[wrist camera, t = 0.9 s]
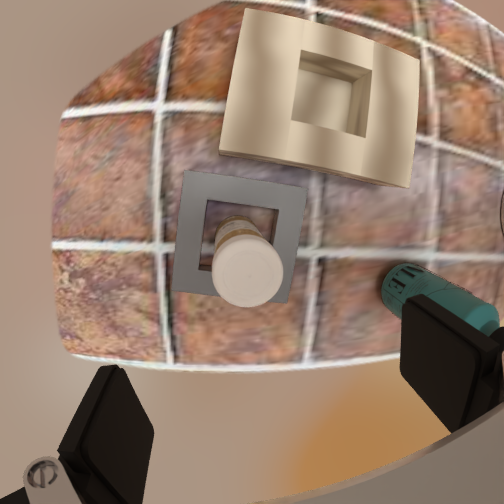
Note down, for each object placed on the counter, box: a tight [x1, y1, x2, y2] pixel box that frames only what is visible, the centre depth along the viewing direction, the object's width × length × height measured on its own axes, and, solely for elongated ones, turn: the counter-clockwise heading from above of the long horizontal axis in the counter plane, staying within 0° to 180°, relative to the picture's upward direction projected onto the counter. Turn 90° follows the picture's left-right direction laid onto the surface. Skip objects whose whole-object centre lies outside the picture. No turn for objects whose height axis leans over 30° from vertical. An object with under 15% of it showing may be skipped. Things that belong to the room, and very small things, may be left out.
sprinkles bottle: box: [212, 216, 283, 307], centre depth 26 cm, size 5×5×13 cm
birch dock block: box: [219, 8, 420, 188], centre depth 27 cm, size 18×14×6 cm
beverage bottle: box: [381, 263, 504, 354], centre depth 26 cm, size 6×7×20 cm
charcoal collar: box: [172, 170, 308, 303], centre depth 31 cm, size 12×12×2 cm
